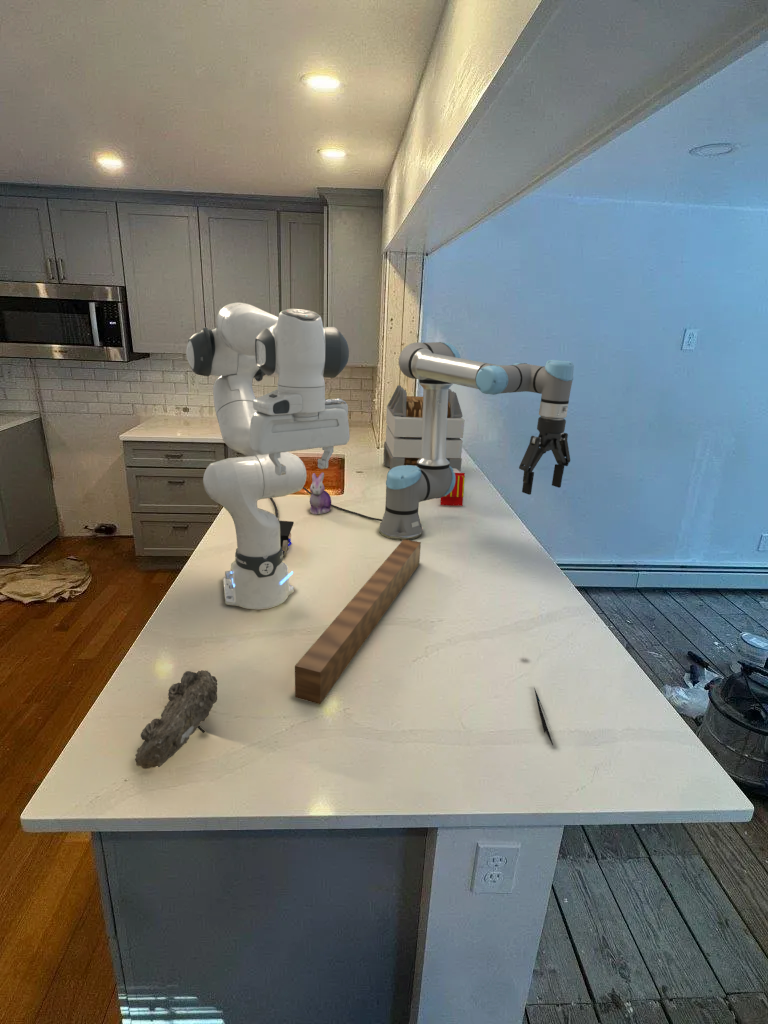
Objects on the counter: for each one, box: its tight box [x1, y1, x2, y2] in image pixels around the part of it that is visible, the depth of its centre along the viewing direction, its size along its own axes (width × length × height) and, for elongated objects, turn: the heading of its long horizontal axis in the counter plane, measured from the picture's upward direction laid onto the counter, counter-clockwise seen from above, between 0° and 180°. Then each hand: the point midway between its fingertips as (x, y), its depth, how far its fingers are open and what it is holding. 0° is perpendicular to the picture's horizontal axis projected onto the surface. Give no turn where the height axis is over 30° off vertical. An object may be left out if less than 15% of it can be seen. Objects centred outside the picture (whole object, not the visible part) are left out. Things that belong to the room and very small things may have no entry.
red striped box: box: [439, 468, 466, 507], centre depth 242 cm, size 12×13×30 cm
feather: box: [524, 658, 554, 746], centre depth 117 cm, size 2×28×2 cm
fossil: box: [134, 669, 218, 770], centre depth 103 cm, size 22×10×15 cm
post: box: [294, 539, 422, 705], centre depth 144 cm, size 72×6×8 cm, turn 161°
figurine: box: [309, 472, 332, 515], centre depth 216 cm, size 9×10×15 cm
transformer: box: [383, 384, 465, 473], centre depth 268 cm, size 34×33×41 cm
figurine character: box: [279, 520, 295, 556], centre depth 182 cm, size 7×8×15 cm
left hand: (302, 471), depth 112 cm, fingers open, 8 cm apart
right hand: (541, 489), depth 166 cm, fingers open, 13 cm apart
